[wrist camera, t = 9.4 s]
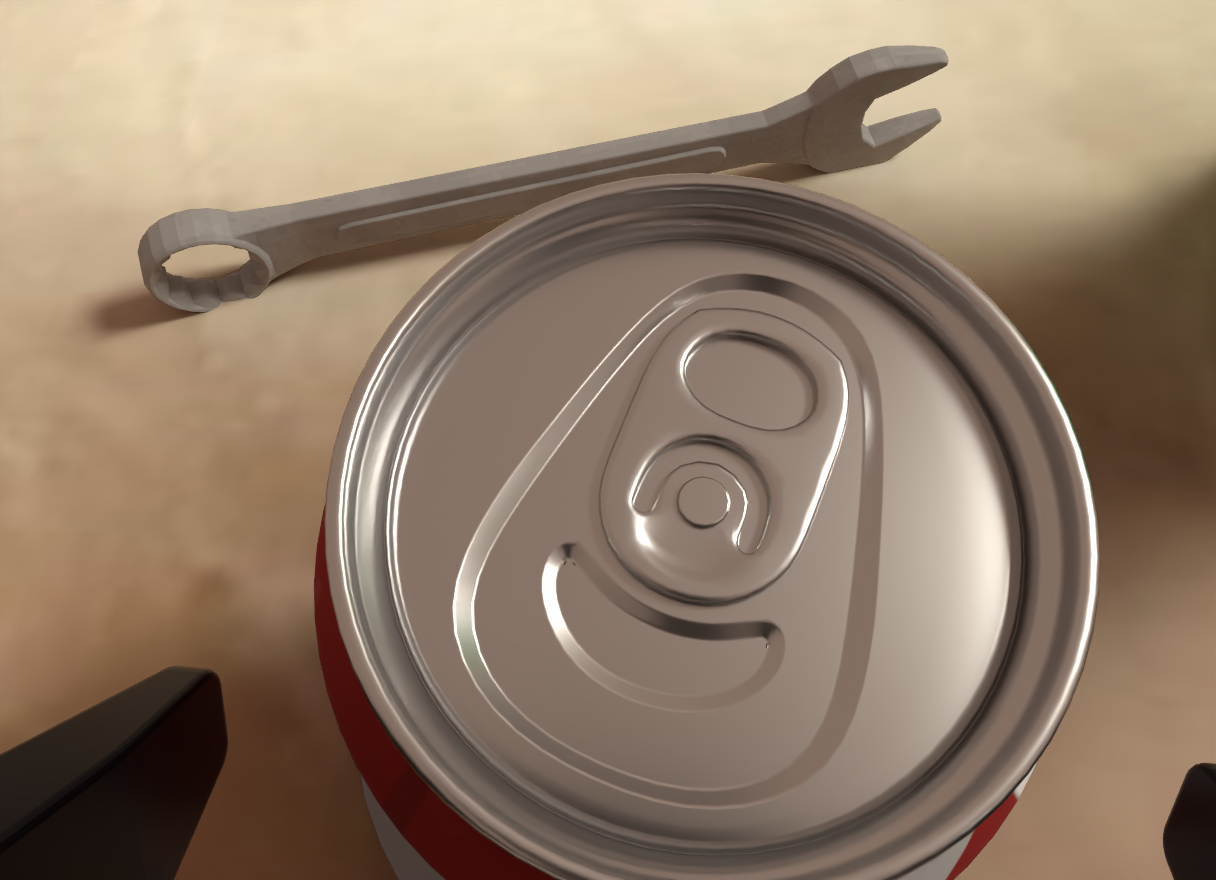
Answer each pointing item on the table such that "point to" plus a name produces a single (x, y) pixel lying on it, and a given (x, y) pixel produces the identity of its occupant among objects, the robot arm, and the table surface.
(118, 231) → the table surface
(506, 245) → the soda can
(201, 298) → the combination wrench
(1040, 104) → the table surface
